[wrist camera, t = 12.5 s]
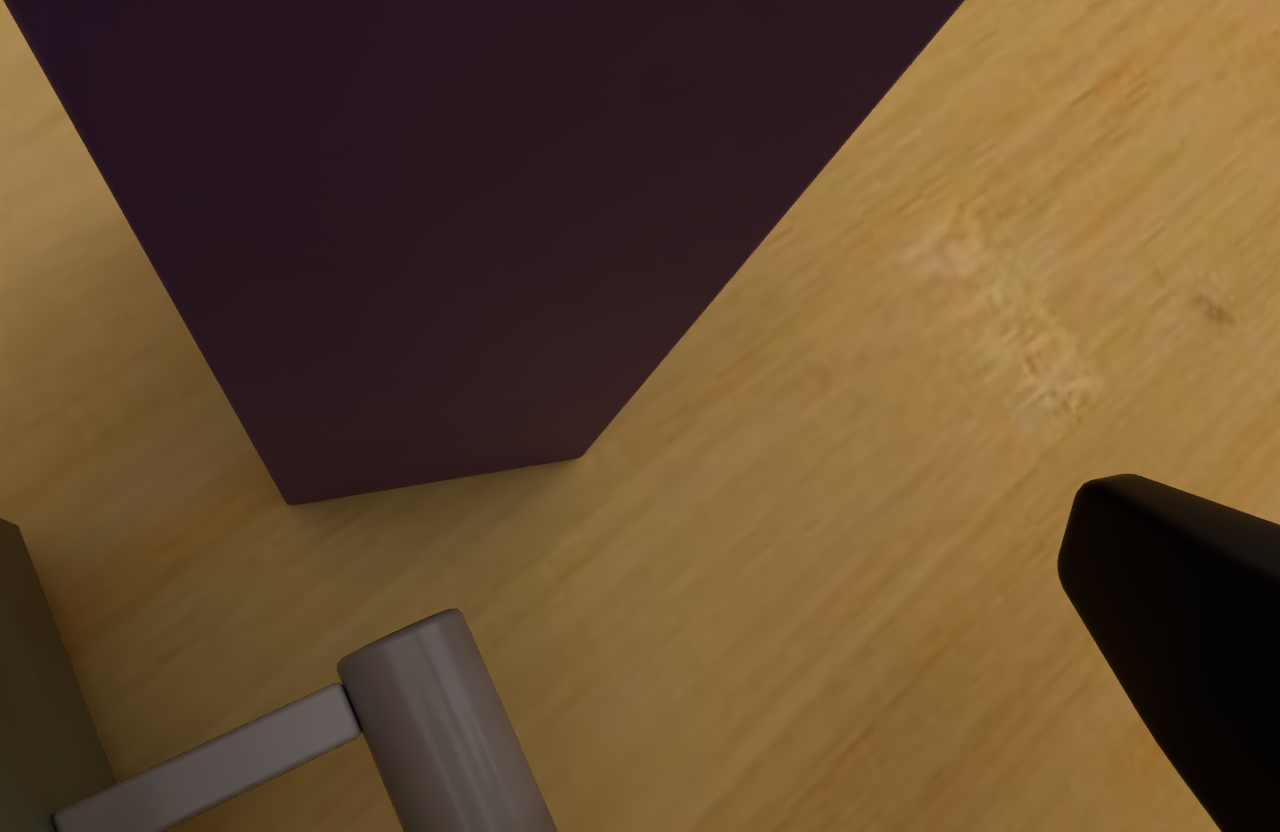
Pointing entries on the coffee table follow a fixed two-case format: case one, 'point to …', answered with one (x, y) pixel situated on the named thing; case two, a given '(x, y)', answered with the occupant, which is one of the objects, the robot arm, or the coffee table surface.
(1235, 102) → the coffee table surface
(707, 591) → the coffee table surface
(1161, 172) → the coffee table surface
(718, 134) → the snack box
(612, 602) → the coffee table surface
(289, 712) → the drawer
